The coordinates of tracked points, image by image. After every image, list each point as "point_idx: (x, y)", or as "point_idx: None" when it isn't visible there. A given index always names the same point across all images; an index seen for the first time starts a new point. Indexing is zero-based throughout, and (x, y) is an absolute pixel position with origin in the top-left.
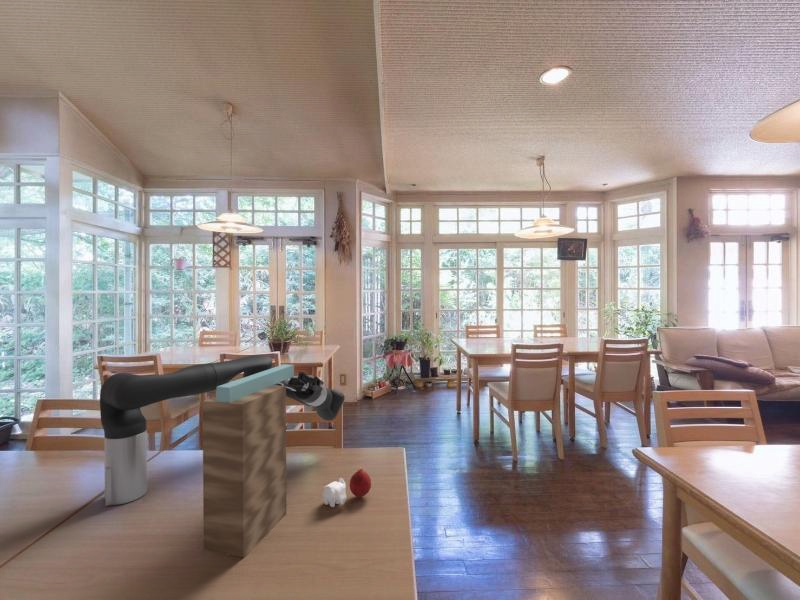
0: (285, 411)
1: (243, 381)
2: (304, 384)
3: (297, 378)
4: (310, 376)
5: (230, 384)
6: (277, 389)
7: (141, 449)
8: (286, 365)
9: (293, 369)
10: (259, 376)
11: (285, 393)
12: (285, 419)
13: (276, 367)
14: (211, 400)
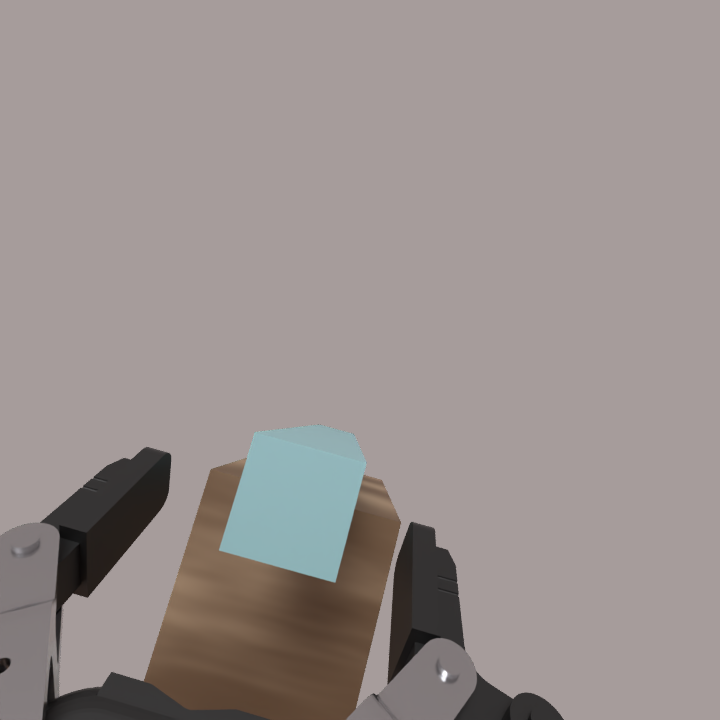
0: (172, 596)
1: (323, 427)
2: (60, 647)
3: (180, 707)
4: (14, 532)
5: (337, 430)
6: (232, 462)
7: None
8: (313, 444)
9: (243, 475)
10: (313, 427)
11: (200, 504)
12: (159, 638)
13: (348, 448)
14: (364, 476)
